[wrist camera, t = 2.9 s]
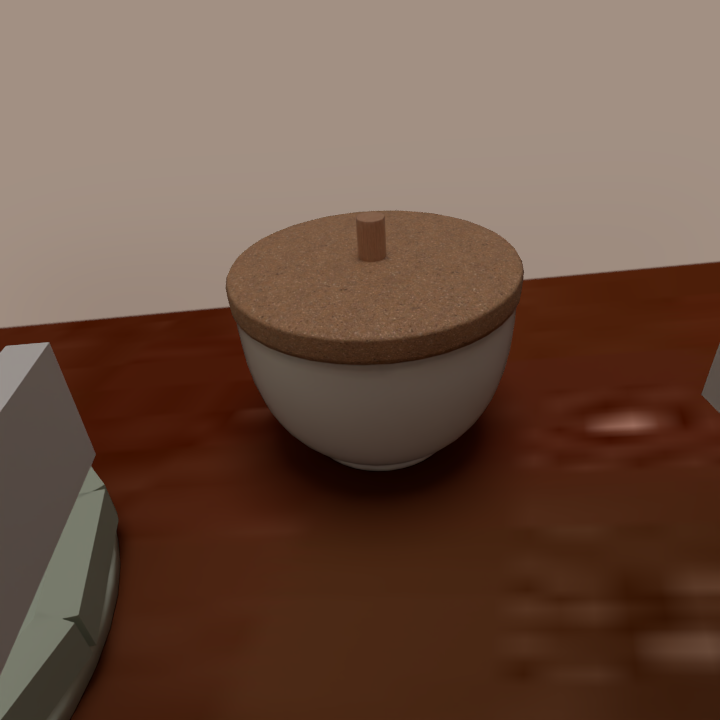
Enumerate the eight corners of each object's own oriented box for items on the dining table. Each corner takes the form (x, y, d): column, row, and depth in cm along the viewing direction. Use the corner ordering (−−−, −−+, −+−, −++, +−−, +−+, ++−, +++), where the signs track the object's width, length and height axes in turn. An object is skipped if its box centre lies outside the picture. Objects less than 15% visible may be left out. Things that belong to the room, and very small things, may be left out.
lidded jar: (207, 457, 24) (146, 249, 18) (344, 336, 31) (328, 162, 26) (441, 563, 19) (449, 319, 14) (538, 389, 26) (567, 187, 21)
